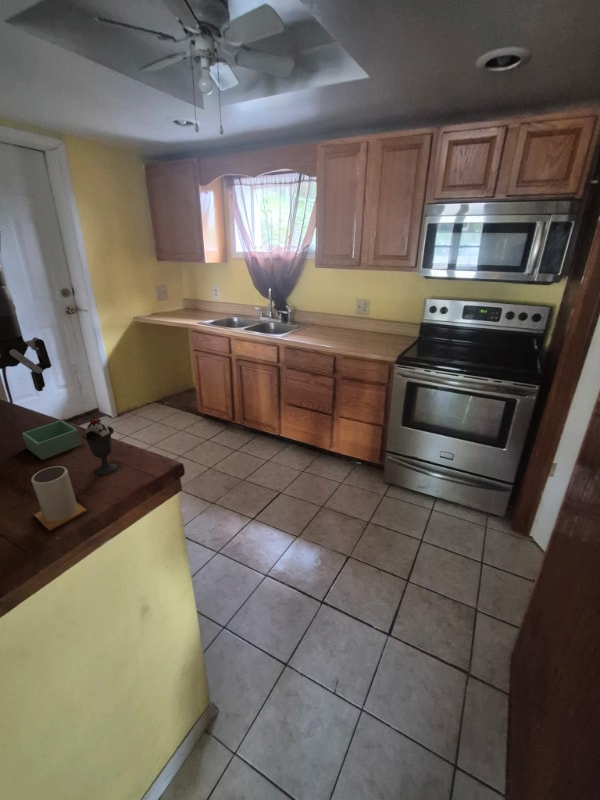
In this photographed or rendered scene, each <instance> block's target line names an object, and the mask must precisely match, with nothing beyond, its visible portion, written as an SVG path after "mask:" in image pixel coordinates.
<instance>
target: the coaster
mask: <svg viewBox="0 0 600 800" xmlns="http://www.w3.org/2000/svg"><path fill="white" fill-rule="evenodd" d="M77 505H78V508H77V510H76V512H75V513H74V514H72V515H71V516H69V517H68V518H66V519H63V520H60V521H54V522H51V521H47V520H45V519H44V517H43V514H42V511H41V510H40V511H38V512H36V513H34V514H33V515H34V517H35V519H37V520H38V521H39V522H40V523H41V524H42V525H43V526H44V527H45V528H46V529H47V530H48V531H49V532H51V531H52V530H54V529H56V528H59V527H60V526H63V525H64V524H66V523H68V522H69V521H72V520H73V519H75V518H77V517H79V516H81V515H83V514H85V513H87V511H88V510H87V509H86V508H85V507H84V506H82V505H81V504H80V503H79V502H77Z"/></svg>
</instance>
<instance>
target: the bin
mask: <svg viewBox="0 0 600 800" xmlns="http://www.w3.org/2000/svg"><path fill="white" fill-rule="evenodd" d="M21 435H22V438H23V441H24V444H25V447H26V449H27V450H29V451H30V452H31V453H32V454H34V455H35V456H36V457H37V458H39V459H40V460H42V461H43V460H45V459H48V458H50V457H53V456H57V455H58V454H61V453H64V452H66V451H69V450H71V449H73V448H77V447H79V446H81V445H82V441H81V437H80V434H79V430H78V428H76V427H74V426H73V425H70V424H69V423H68V422H65V421H63V420H62V419H60V420H57V421H54V422H50V423H48V424H44V425H41V426H39V427H35V428H33V429H29V430H27V431H24V432H21Z"/></svg>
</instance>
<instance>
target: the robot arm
mask: <svg viewBox="0 0 600 800" xmlns="http://www.w3.org/2000/svg"><path fill="white" fill-rule="evenodd" d="M1 234H2V233H1V232H0V252H1V249H2V248H1V246H2V245H1V244H2V243H1V241H2V240H1V236H2V235H1ZM7 284H8V283H7V281H6V277H5V273H4V270H3V267H2V263H1V262H0V370H3V369H6V368H7V367H8V368H9V367H13V368H14V367H18V365H20V364H22V365H23V366H25V367H26V368H28V369H29V370H31V371H30V375H31V379H32V382H33V387H34V390H36V391H37V392H42V391H44V388H45V387H46V382H45V379H44V374H43V372H44V371H45V370H46V369H50V368H52V363H51V360H50V356H49V352H48V350H47V347H46V343H45V341H44V339H41V338H38V337H33V338H32V339H29V340H25V339H24V337H23V333H22V329H21V326H20V322H19V320H18V315H17V309H16V305H15V304H14V300H13V297H12V294H11V292H10V289H9V288H8V285H7ZM29 348H30V349H31V350H33V351H35V354H36V357H37V360H38V363H36V364H35V363H34V361H32V360H31V359H29V358H27V357H26V356H25V355H26V352H27V351H28V349H29Z"/></svg>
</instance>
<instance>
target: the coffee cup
mask: <svg viewBox="0 0 600 800" xmlns="http://www.w3.org/2000/svg"><path fill="white" fill-rule="evenodd" d="M30 481H31V484H32V488H33V490H34V493H35V497H36V499H37V502H38V505H39V509H40V511H42V514H43V517H44V519H45V520H47V521H51V522H54V521H60V520H63V519H66V518H68V517H69V516H71V515H72V514H74V513H75V512H76V510H77V508H78V505H77V503H78V502H77V498H76V495H75V491H74V487H73V484H72V481H71V478H70V475H69V471H68V468H67V467H65V466H62V465H55V466H50V467H46V468H43V469H41V470H39V471H37V472H35V473H34V474H33V476H32V477H31V479H30Z"/></svg>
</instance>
